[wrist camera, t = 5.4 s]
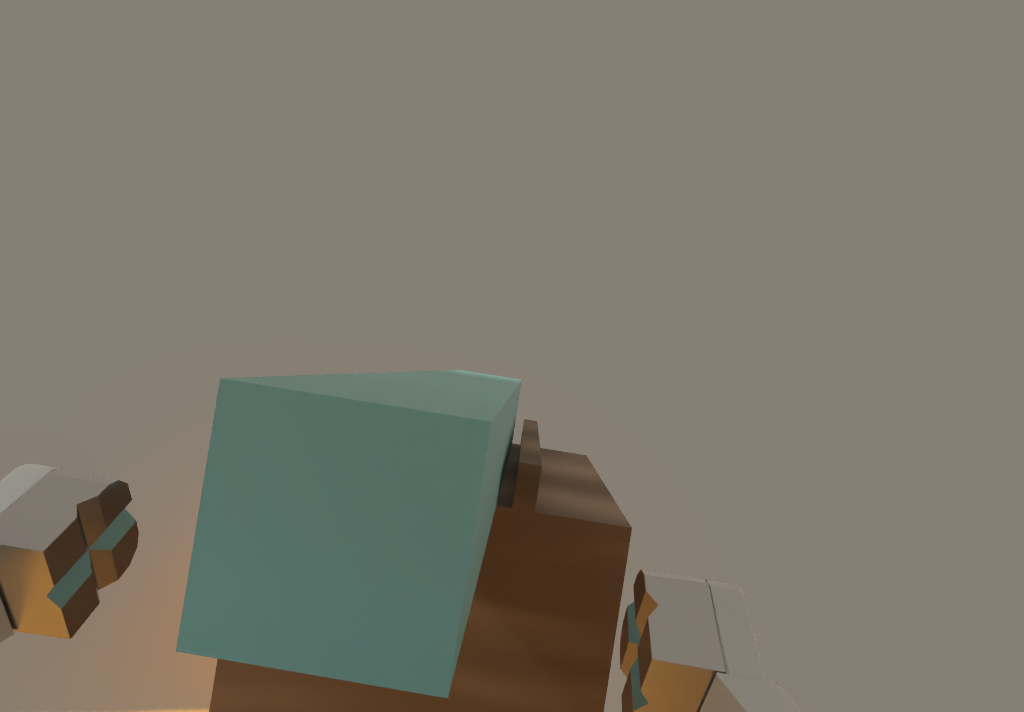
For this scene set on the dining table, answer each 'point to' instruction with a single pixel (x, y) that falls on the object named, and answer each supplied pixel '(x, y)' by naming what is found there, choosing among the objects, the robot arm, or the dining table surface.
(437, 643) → the teal rod
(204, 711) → the dining table surface
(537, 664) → the walnut stand
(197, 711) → the dining table surface
